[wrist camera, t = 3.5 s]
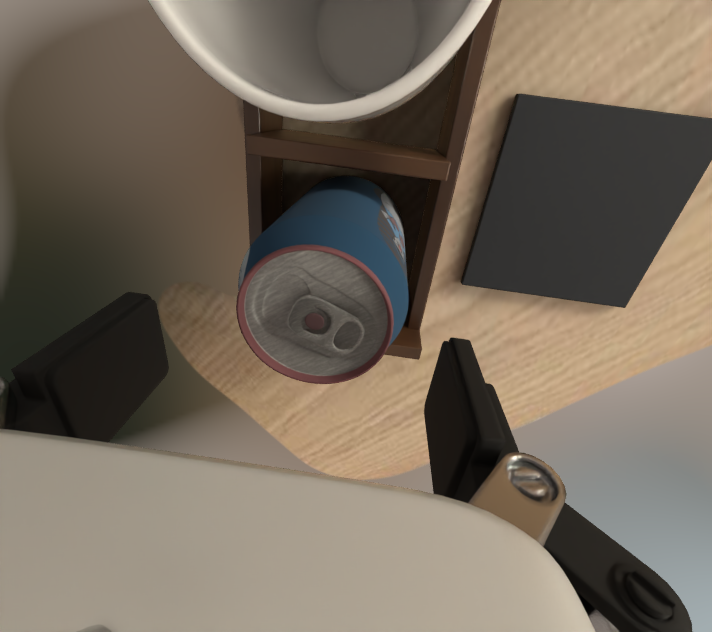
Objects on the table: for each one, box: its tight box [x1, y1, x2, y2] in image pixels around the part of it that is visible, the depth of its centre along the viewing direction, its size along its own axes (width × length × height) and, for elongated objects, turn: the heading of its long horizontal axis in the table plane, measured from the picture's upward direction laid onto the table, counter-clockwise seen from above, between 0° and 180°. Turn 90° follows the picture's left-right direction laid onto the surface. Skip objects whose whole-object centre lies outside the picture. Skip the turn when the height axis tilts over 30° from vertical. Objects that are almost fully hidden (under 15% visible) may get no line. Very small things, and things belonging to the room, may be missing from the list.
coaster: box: [461, 94, 712, 308], centre depth 21 cm, size 11×11×1 cm
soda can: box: [236, 176, 409, 384], centre depth 18 cm, size 7×7×12 cm
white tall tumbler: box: [148, 0, 492, 124], centre depth 11 cm, size 7×7×15 cm
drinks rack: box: [241, 0, 501, 359], centre depth 18 cm, size 11×20×6 cm, turn 173°
